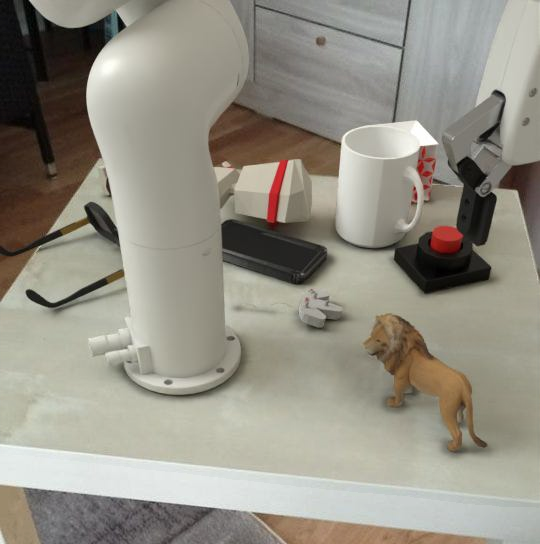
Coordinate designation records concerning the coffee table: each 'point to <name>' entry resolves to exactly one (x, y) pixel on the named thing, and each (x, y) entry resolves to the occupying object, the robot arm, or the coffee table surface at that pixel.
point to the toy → (261, 190)
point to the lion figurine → (422, 374)
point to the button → (446, 239)
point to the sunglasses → (94, 217)
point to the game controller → (316, 307)
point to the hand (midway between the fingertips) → (522, 224)
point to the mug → (377, 186)
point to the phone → (270, 251)
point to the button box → (441, 265)
